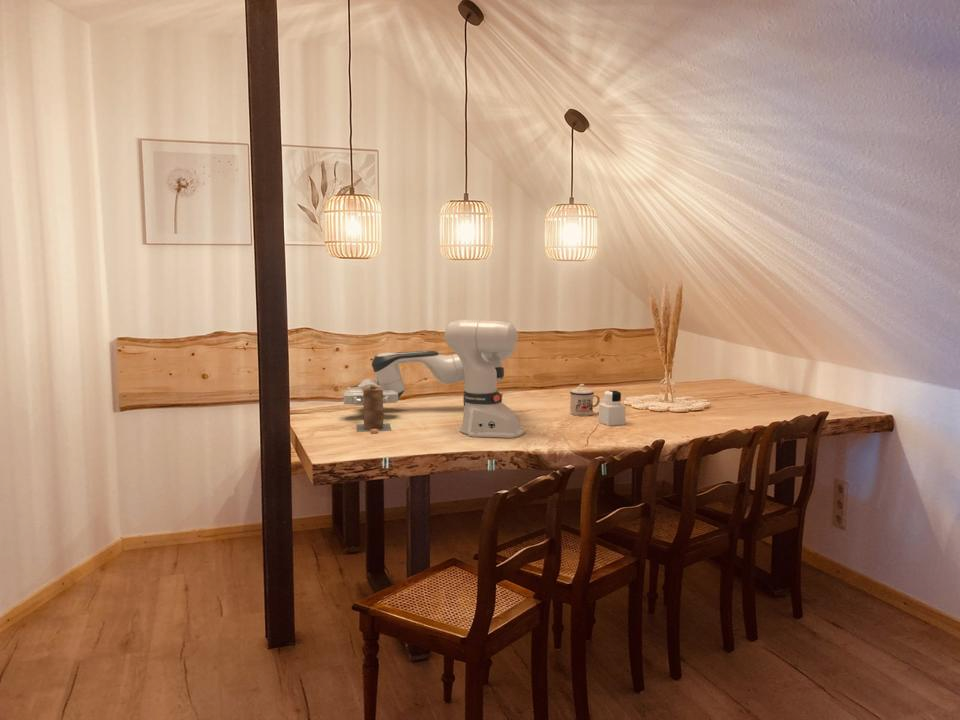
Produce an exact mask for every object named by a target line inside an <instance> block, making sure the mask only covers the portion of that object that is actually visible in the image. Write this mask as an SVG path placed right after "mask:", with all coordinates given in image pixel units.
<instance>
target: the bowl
mask: <svg viewBox="0 0 960 720" xmlns="http://www.w3.org/2000/svg"><path fill="white" fill-rule="evenodd" d="M370 433H371V434H374V435H375V434H379V431H378V429H371V431H370Z"/></svg>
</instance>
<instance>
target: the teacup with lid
mask: <svg viewBox="0 0 960 720" xmlns="http://www.w3.org/2000/svg"><path fill="white" fill-rule="evenodd" d="M569 393H570V402H569V403H570V405H569V406H570V415H573V416H577V417H588V416H589V417H590V416H592V415H593V414H594V408H596V407H599V404H600V403H601V399H600V396H599V395H598V394H594V393H595V392H594V390H593V389H590V388H589V387H587V386H585V383H580V384H579V386H576V387H575V388H572V389H570V392H569ZM594 397H595V398H596V399H597V401H596V403H595V404H594Z"/></svg>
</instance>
